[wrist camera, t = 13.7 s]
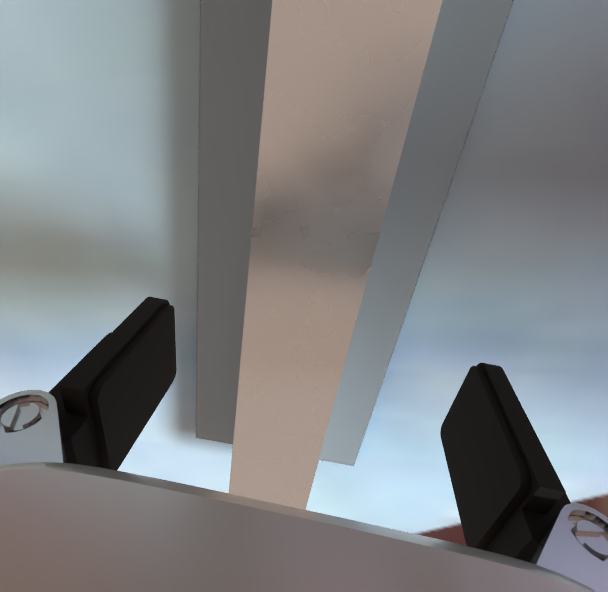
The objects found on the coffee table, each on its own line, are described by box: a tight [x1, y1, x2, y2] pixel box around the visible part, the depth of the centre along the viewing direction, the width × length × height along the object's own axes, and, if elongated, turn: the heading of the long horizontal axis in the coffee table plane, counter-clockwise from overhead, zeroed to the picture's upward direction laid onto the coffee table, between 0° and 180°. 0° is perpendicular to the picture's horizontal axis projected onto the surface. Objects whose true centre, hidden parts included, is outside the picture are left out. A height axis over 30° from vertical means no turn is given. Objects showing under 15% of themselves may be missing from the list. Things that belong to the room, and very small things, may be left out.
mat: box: [196, 0, 514, 466], centre depth 17 cm, size 10×24×1 cm, turn 171°
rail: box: [229, 0, 443, 510], centre depth 15 cm, size 4×24×4 cm, turn 171°
